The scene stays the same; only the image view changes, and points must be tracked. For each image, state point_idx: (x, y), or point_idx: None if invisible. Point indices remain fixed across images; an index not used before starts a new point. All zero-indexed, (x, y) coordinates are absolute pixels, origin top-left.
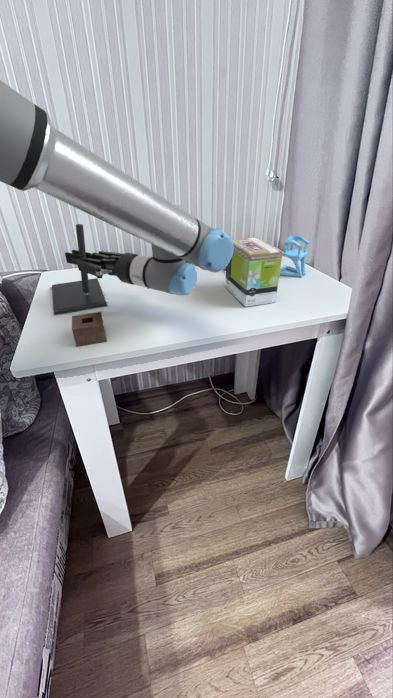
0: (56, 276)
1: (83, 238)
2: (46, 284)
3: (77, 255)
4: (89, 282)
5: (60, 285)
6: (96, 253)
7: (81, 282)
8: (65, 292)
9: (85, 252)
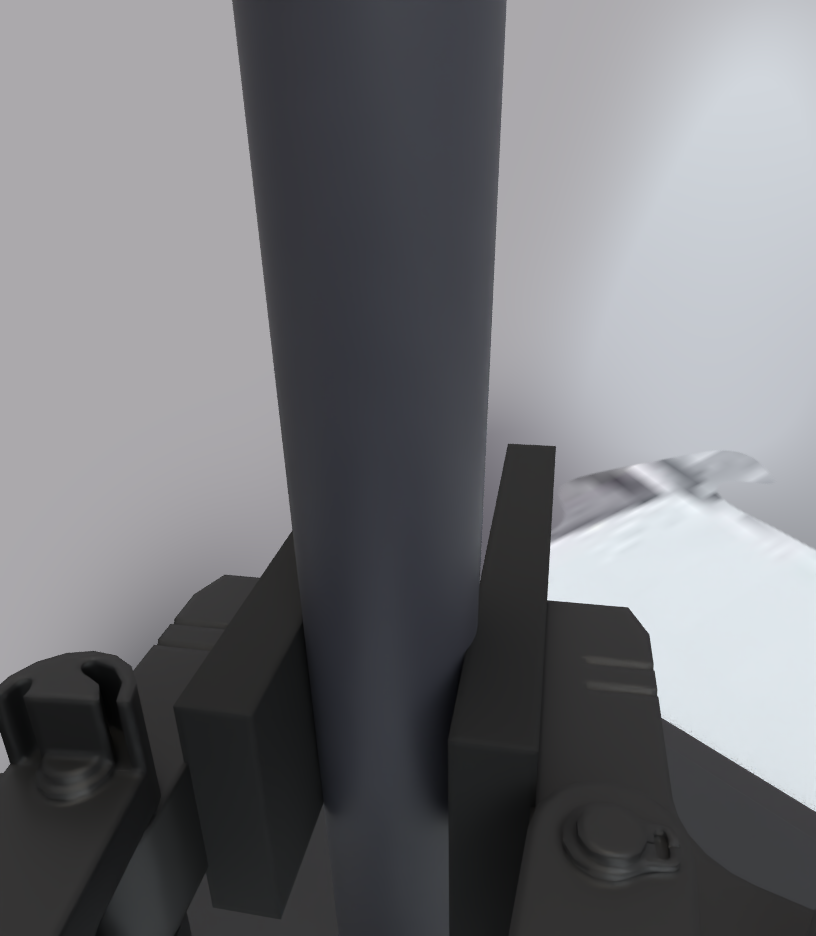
0: (687, 568)
1: (365, 214)
2: None
3: (259, 597)
4: (761, 877)
5: None
6: (648, 929)
7: (697, 796)
8: None
9: (410, 646)
